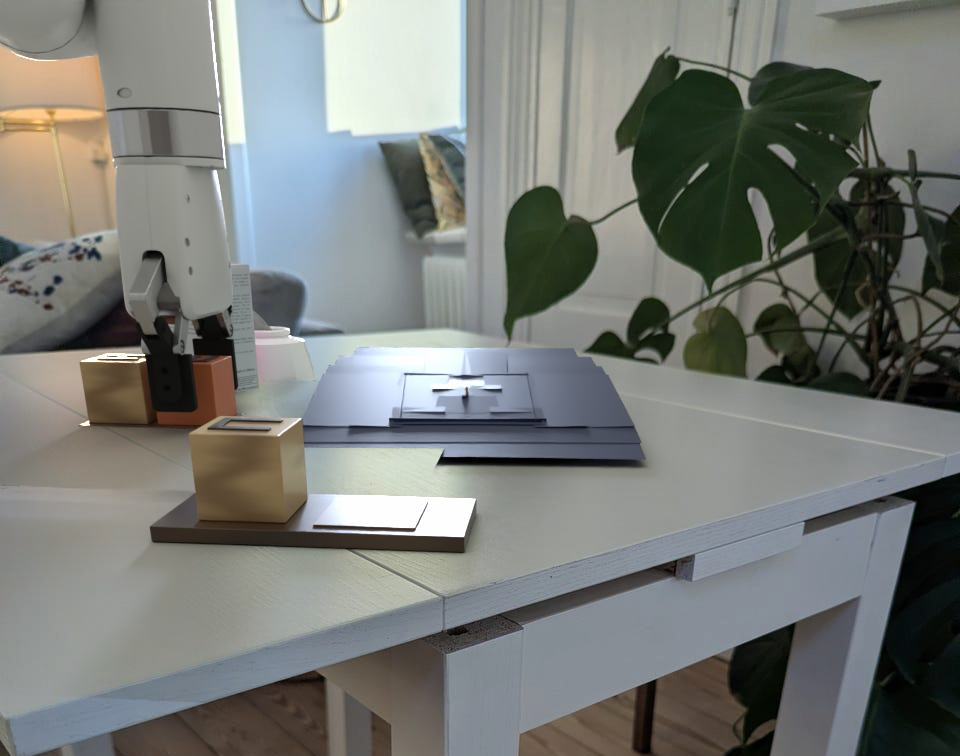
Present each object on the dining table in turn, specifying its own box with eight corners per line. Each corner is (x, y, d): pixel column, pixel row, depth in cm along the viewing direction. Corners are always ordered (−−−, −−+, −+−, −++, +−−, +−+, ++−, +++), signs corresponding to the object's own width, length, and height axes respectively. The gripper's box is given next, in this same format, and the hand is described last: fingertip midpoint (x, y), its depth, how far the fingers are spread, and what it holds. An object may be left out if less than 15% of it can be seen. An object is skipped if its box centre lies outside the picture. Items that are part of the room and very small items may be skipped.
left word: (79, 435, 70) (67, 361, 68) (116, 419, 76) (106, 350, 74) (219, 439, 70) (212, 364, 67) (246, 422, 75) (240, 353, 73)
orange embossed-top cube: (158, 424, 70) (149, 361, 69) (180, 413, 75) (173, 353, 73) (217, 426, 70) (211, 362, 68) (237, 414, 74) (231, 354, 72)
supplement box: (262, 395, 87) (251, 262, 82) (214, 404, 82) (200, 264, 78) (218, 389, 90) (205, 260, 85) (169, 398, 85) (152, 262, 81)
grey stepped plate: (591, 377, 90) (594, 338, 88) (646, 497, 64) (651, 446, 62) (337, 376, 89) (334, 337, 87) (290, 497, 64) (284, 445, 62)
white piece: (309, 389, 90) (302, 278, 86) (122, 388, 90) (106, 277, 86) (323, 374, 99) (317, 273, 95) (152, 373, 99) (138, 272, 95)
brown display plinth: (151, 541, 48) (136, 435, 45) (200, 503, 54) (189, 408, 52) (464, 552, 46) (464, 443, 44) (476, 512, 53) (477, 416, 51)
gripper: (164, 153, 73) (191, 381, 80) (53, 135, 57) (100, 421, 64) (258, 153, 72) (277, 382, 79) (173, 134, 57) (206, 423, 64)
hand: (198, 399), depth 72 cm, fingers open, 8 cm apart
